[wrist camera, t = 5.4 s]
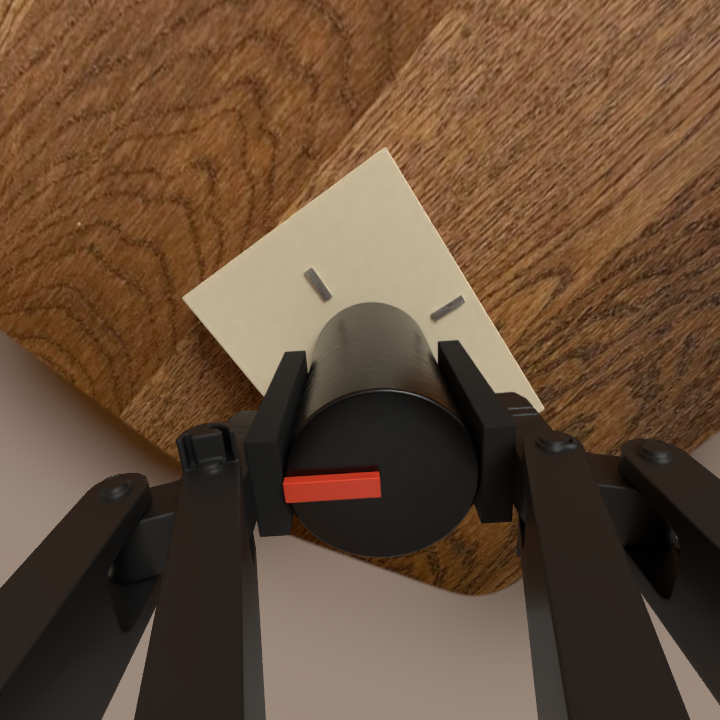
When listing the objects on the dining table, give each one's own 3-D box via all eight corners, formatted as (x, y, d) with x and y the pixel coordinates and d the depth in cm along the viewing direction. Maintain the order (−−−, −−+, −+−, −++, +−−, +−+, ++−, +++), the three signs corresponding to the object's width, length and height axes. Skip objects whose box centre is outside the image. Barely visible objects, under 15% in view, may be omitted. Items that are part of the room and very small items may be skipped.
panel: (523, 383, 23) (547, 411, 20) (360, 479, 25) (360, 517, 22) (381, 152, 20) (385, 145, 17) (203, 284, 22) (179, 299, 19)
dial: (426, 297, 19) (487, 387, 10) (428, 404, 20) (482, 562, 12) (309, 306, 19) (267, 401, 10) (321, 411, 20) (293, 573, 12)
